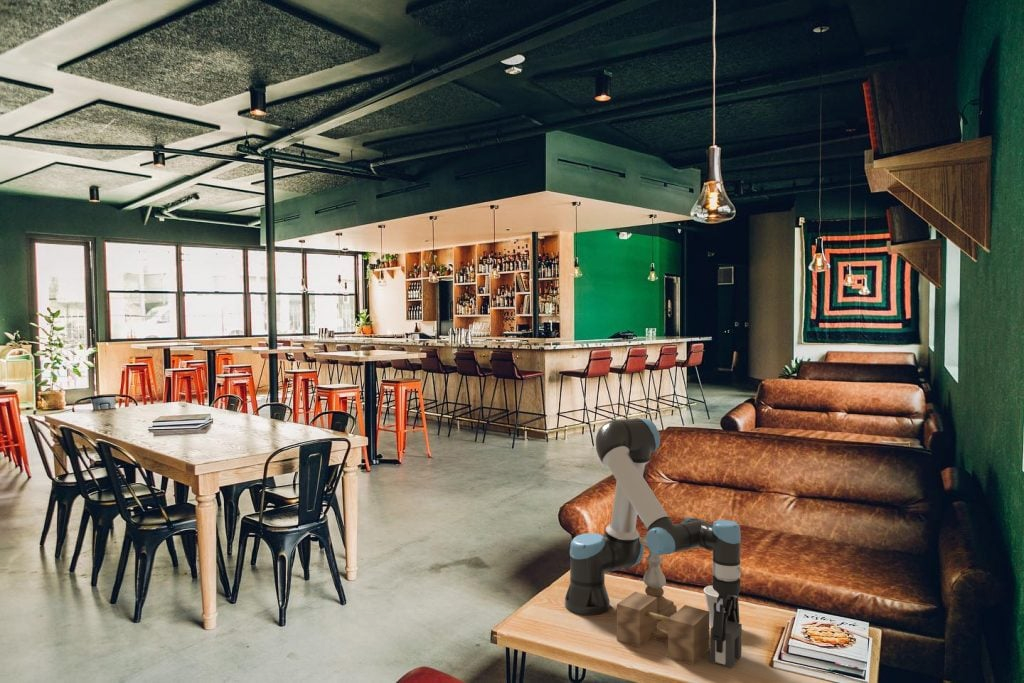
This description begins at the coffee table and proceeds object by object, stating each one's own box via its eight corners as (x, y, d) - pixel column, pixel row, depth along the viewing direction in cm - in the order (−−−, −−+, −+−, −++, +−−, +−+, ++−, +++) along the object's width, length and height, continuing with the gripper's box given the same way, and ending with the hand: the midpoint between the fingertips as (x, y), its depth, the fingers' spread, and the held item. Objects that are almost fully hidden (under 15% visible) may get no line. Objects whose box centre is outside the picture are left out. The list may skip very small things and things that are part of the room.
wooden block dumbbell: (616, 640, 194) (617, 603, 194) (635, 626, 204) (635, 591, 203) (693, 665, 179) (693, 625, 179) (709, 648, 189) (709, 611, 189)
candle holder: (677, 611, 215) (677, 540, 215) (660, 621, 207) (660, 547, 207) (648, 602, 222) (649, 533, 222) (631, 611, 214) (631, 540, 214)
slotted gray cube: (710, 661, 181) (710, 628, 181) (720, 650, 188) (720, 618, 188) (731, 668, 178) (731, 634, 178) (741, 656, 184) (741, 624, 184)
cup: (738, 634, 198) (738, 598, 198) (704, 631, 200) (705, 596, 200) (734, 620, 208) (734, 586, 208) (702, 617, 210) (702, 584, 210)
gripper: (726, 591, 172) (726, 675, 172) (751, 569, 189) (751, 646, 189) (699, 584, 177) (699, 667, 177) (726, 563, 193) (725, 638, 193)
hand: (726, 656), depth 183 cm, fingers closed on slotted gray cube, 8 cm apart
